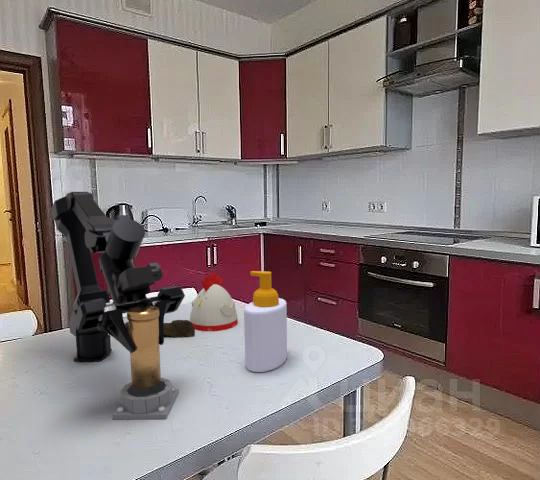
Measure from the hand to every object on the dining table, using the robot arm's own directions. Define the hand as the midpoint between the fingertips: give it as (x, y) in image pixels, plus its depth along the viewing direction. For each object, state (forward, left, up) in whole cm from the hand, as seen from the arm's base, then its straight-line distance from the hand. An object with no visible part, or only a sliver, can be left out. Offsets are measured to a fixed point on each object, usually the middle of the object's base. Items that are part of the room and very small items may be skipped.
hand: (147, 347), depth 70 cm
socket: (-1, +1, -11) cm, 11 cm away
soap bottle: (+20, +20, -11) cm, 31 cm away
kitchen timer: (+4, +48, -11) cm, 49 cm away
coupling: (-1, +1, -7) cm, 7 cm away
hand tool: (-9, +38, -11) cm, 41 cm away
